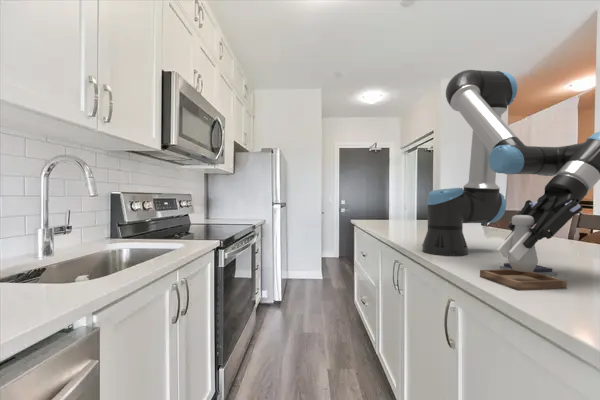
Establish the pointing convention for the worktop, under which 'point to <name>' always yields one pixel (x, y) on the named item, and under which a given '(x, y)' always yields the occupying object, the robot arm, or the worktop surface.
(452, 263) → the worktop surface
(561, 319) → the worktop surface
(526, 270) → the salt shaker
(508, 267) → the ink pad
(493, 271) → the tray
